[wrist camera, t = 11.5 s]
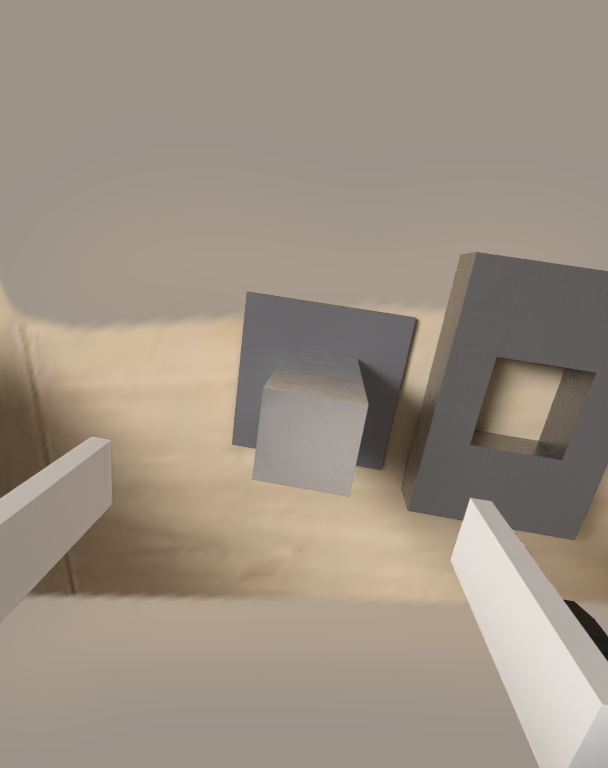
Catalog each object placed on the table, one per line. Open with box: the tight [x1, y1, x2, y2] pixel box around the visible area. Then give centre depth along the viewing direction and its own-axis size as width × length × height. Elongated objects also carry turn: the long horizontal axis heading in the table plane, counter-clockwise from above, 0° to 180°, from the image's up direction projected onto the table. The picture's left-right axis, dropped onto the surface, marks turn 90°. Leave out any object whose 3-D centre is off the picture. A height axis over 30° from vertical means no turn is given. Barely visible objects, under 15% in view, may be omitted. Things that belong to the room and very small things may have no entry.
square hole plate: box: [401, 252, 608, 540], centre depth 26 cm, size 12×18×3 cm, turn 172°
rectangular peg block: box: [252, 348, 368, 497], centre depth 23 cm, size 5×5×10 cm
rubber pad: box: [232, 292, 416, 470], centre depth 28 cm, size 12×12×1 cm
